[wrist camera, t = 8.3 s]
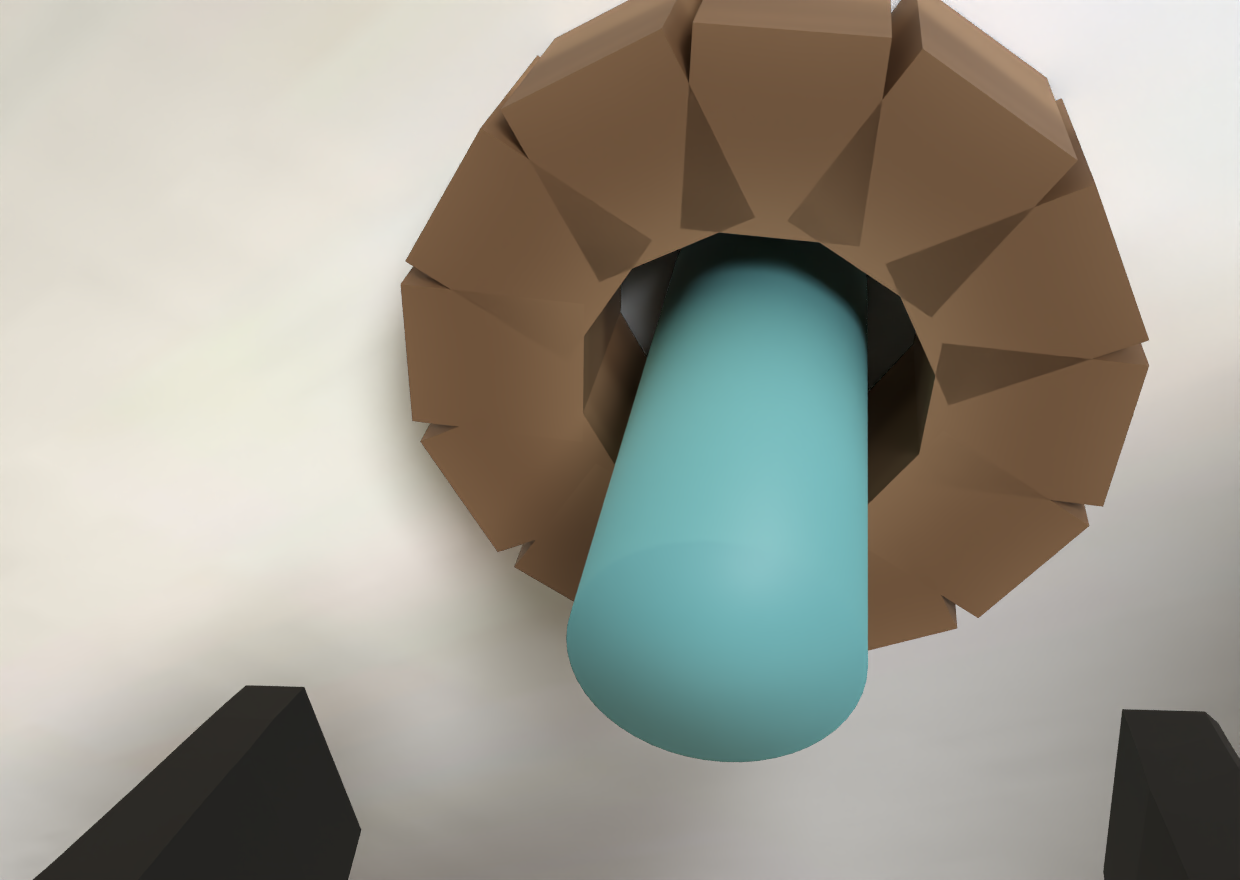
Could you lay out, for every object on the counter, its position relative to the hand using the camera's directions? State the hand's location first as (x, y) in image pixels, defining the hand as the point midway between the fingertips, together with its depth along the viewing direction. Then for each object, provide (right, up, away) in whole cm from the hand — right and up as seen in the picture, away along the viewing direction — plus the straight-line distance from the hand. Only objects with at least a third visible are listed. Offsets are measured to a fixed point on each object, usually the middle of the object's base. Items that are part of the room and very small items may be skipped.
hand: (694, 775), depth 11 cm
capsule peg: (+2, +5, +8) cm, 10 cm away
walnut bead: (+2, +5, +8) cm, 10 cm away
